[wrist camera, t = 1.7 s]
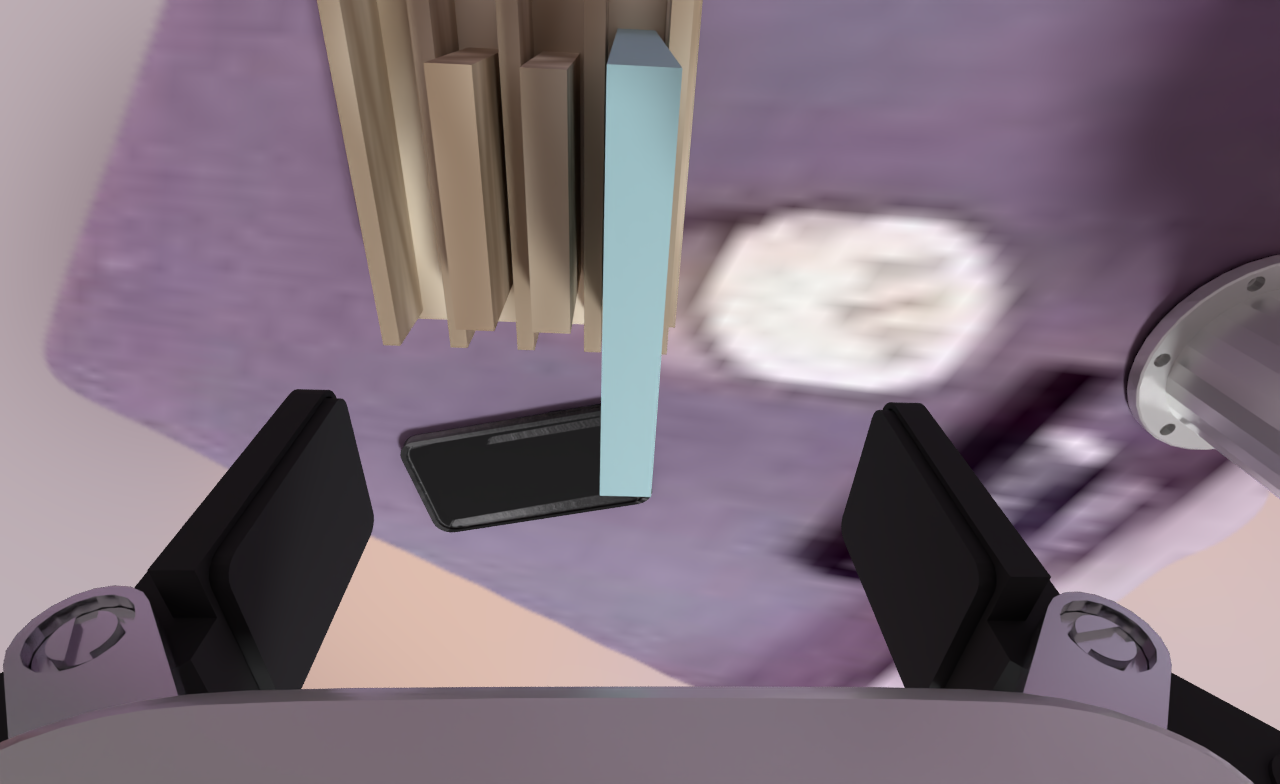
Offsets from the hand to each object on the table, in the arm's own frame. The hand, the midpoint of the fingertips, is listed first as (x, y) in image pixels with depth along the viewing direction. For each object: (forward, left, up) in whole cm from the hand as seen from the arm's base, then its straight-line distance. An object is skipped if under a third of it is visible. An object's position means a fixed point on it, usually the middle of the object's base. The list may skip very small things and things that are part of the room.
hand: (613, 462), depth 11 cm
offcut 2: (+3, 0, -22) cm, 22 cm away
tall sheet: (0, 0, -22) cm, 22 cm away
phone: (+5, +19, -24) cm, 31 cm away
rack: (+4, 0, -23) cm, 24 cm away
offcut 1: (+6, 0, -22) cm, 23 cm away
